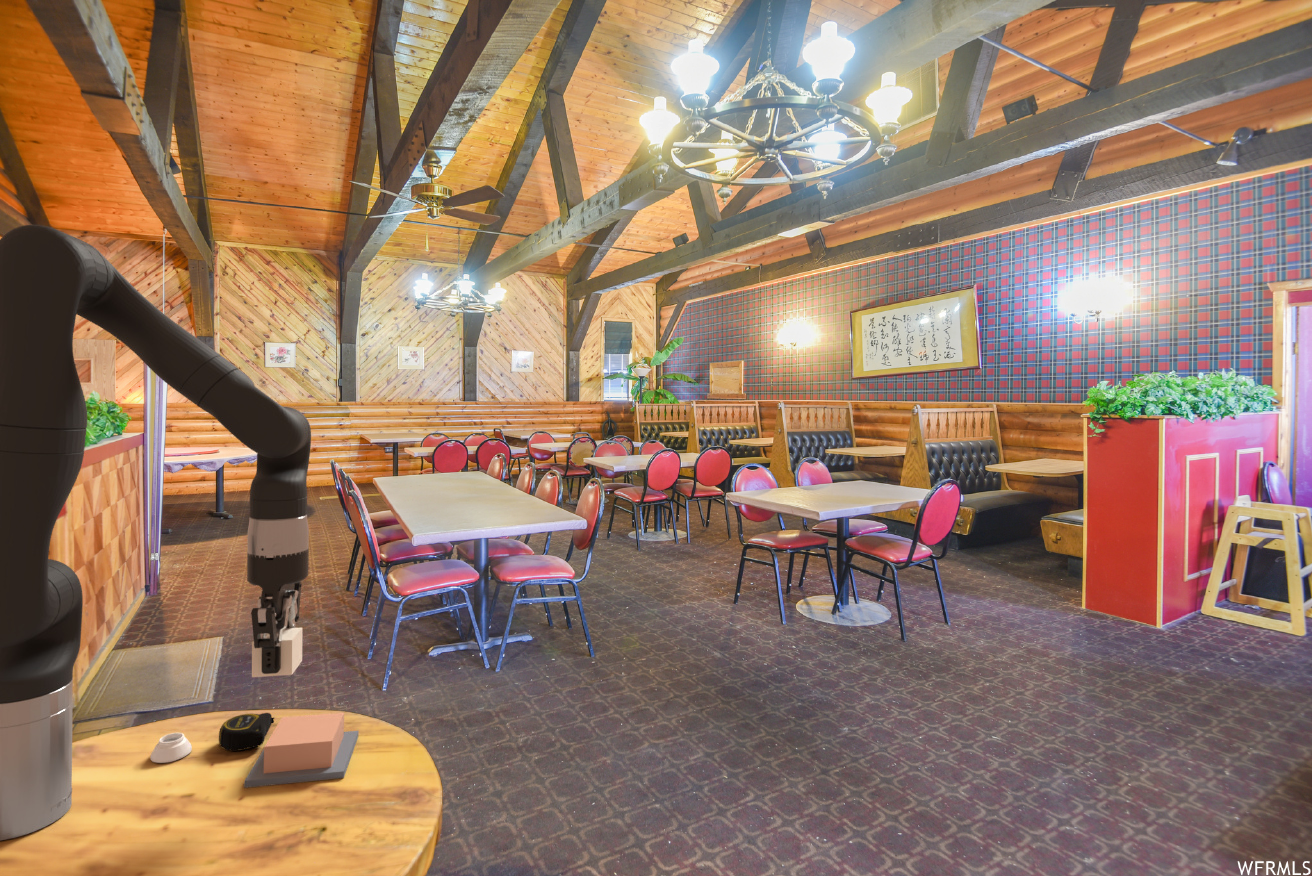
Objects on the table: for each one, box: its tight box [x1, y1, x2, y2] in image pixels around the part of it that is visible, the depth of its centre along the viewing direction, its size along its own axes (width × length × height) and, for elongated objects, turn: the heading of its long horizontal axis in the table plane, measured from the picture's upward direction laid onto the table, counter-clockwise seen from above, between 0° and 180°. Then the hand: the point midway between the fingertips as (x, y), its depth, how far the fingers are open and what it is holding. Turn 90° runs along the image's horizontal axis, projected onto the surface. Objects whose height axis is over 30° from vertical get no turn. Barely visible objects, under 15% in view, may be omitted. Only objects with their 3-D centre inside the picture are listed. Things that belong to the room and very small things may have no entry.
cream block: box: [251, 627, 303, 678], centre depth 91 cm, size 5×5×5 cm
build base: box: [243, 712, 359, 788], centre depth 98 cm, size 13×12×5 cm
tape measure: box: [218, 712, 275, 752], centre depth 102 cm, size 7×7×4 cm
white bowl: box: [150, 732, 192, 764], centre depth 98 cm, size 5×3×5 cm
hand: (277, 663), depth 91 cm, fingers closed on cream block, 5 cm apart
